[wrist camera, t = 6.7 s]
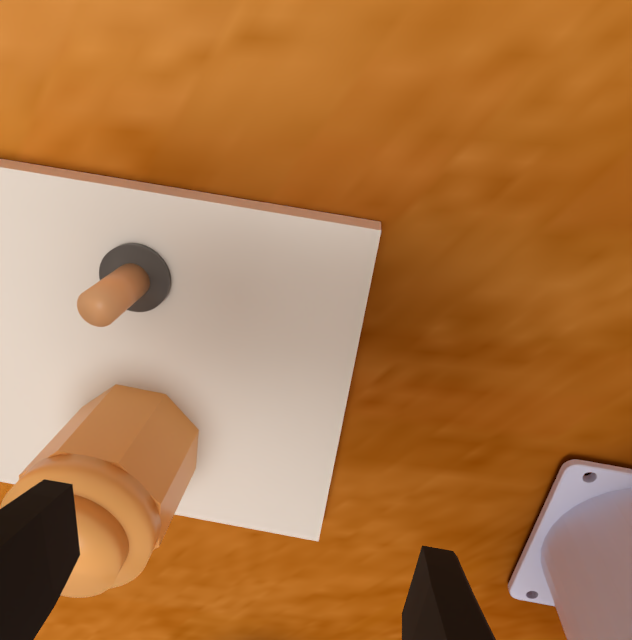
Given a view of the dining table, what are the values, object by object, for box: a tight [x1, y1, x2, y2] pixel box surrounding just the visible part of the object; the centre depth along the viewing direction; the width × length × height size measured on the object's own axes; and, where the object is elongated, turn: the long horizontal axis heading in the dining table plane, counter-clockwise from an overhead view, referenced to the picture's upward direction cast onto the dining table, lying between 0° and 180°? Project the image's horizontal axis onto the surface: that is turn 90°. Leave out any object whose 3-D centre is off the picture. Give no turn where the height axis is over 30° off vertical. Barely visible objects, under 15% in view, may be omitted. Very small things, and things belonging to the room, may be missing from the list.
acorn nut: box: [0, 384, 199, 598], centre depth 18 cm, size 5×5×6 cm
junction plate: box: [0, 159, 381, 541], centre depth 18 cm, size 16×14×4 cm
